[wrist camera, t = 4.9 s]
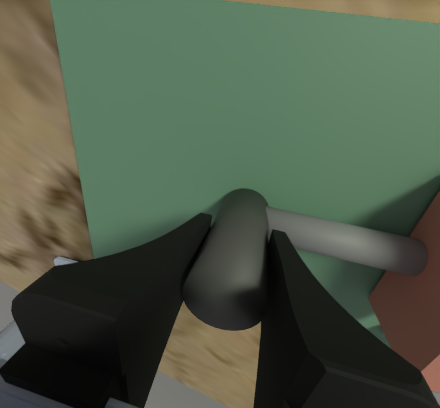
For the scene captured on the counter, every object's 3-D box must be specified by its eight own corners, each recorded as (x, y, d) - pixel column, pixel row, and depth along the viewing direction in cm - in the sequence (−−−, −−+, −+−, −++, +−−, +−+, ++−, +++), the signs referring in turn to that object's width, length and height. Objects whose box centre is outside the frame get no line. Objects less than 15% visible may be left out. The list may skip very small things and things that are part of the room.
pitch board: (517, 381, 17) (531, 397, 16) (103, 266, 21) (96, 273, 20) (963, 89, 8) (1053, 89, 7) (63, -11, 12) (47, -19, 11)
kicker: (406, 308, 15) (503, 463, 8) (213, 258, 16) (176, 359, 10) (507, 182, 10) (849, 310, 4) (233, 133, 12) (192, 173, 6)
